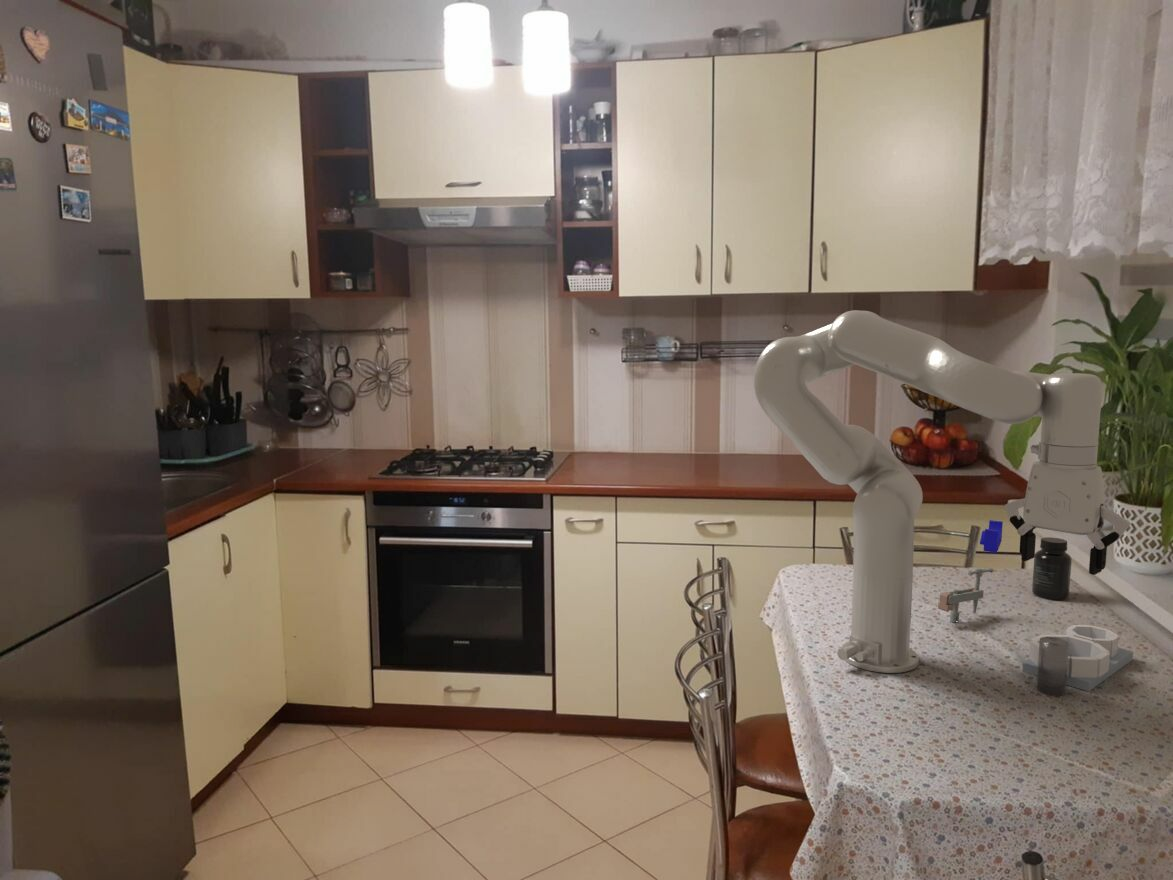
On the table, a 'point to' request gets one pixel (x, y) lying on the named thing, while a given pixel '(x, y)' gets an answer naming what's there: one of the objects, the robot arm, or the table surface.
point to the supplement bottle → (1052, 570)
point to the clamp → (962, 596)
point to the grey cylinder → (1052, 666)
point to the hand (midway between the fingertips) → (1060, 565)
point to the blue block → (992, 536)
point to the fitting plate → (1085, 655)
